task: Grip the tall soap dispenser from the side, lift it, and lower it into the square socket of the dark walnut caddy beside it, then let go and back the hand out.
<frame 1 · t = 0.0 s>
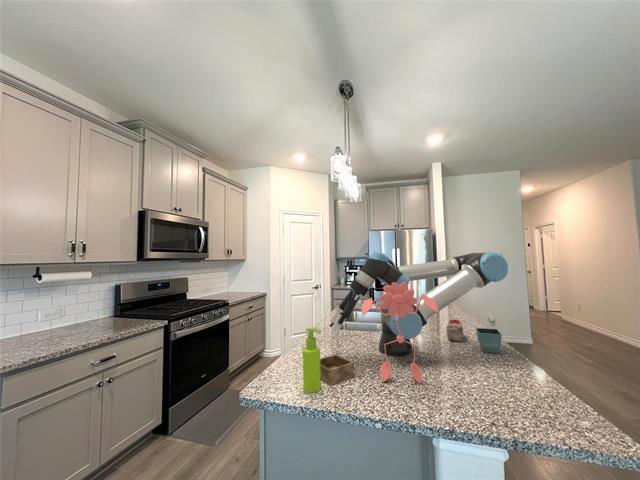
hand: (333, 325, 114), 15 cm above the table, tool tilted 35°, fingers open, 13 cm apart
soap dispenser: (313, 389, 92), on the table
walnut caddy: (333, 375, 102), on the table
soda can: (410, 334, 152), on the table
figurine: (401, 386, 93), on the table
food item: (455, 339, 142), on the table
flower pot: (489, 351, 123), on the table
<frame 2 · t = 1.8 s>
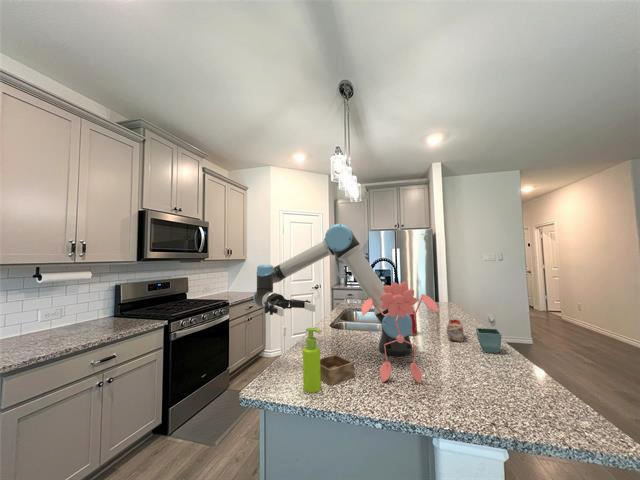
hand: (299, 310, 101), 25 cm above the table, tool horizontal, fingers open, 13 cm apart
nothing on the table moved.
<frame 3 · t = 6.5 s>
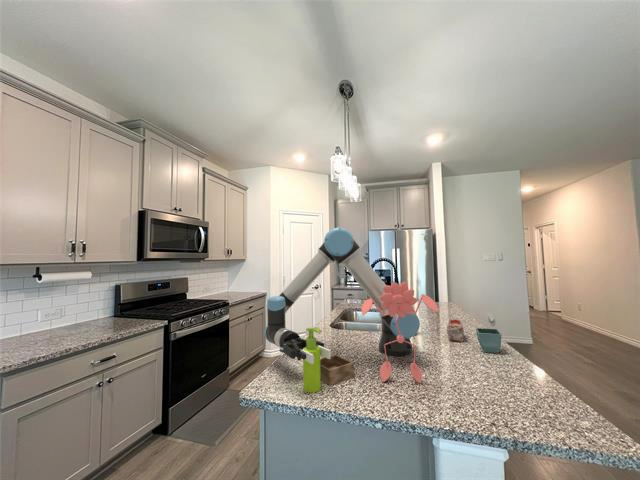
hand: (321, 357, 89), 12 cm above the table, tool horizontal, fingers closed on soap dispenser, 6 cm apart
soap dispenser: (313, 389, 92), on the table, touching gripper
everything else where it was.
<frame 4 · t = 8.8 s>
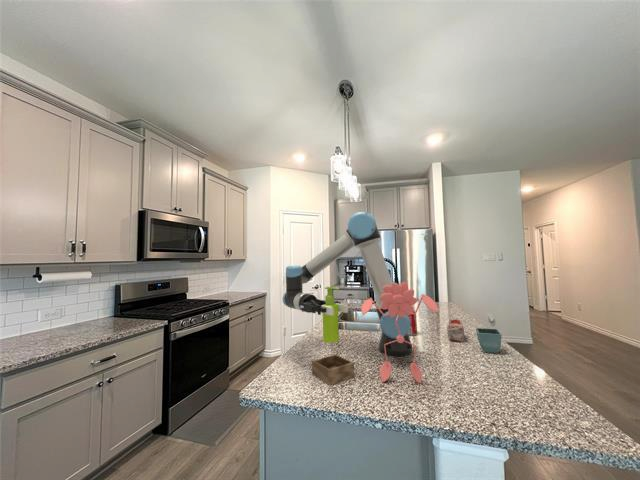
hand: (339, 310, 99), 25 cm above the table, tool horizontal, fingers closed on soap dispenser, 6 cm apart
soap dispenser: (332, 341, 103), point 13 cm above the table, touching gripper
everything else where it was.
when the fingers open (14 cm above the table, at t = 11.1 s): soap dispenser drops 1 cm, resting on walnut caddy.
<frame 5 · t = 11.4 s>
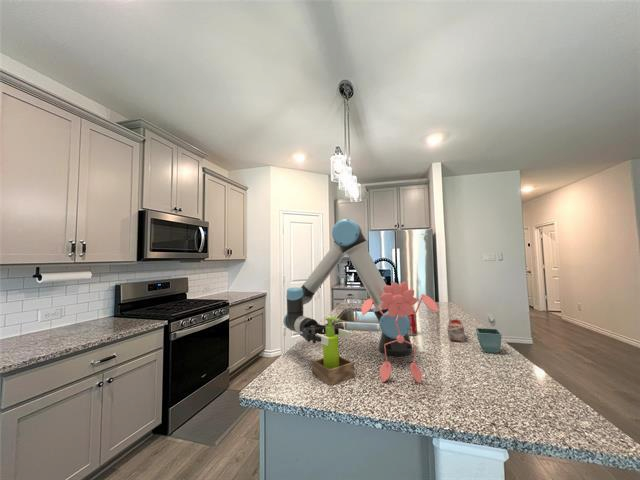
hand: (339, 338, 99), 14 cm above the table, tool horizontal, fingers open, 10 cm apart
soap dispenser: (332, 372, 102), point 1 cm above the table, touching walnut caddy
everything else where it was.
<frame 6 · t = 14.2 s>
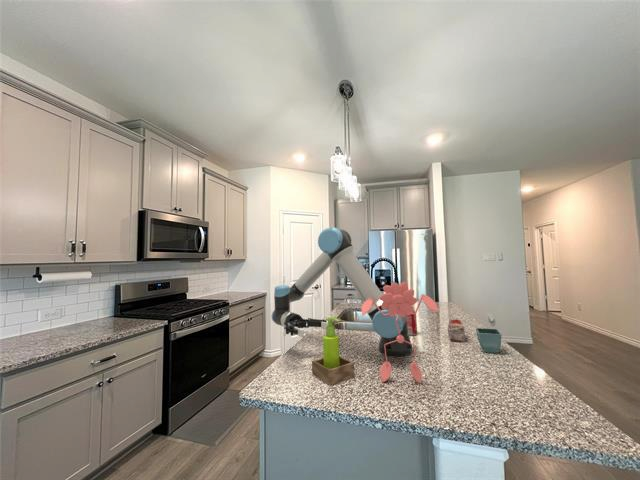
hand: (317, 330, 111), 15 cm above the table, tool horizontal, fingers open, 13 cm apart
nothing on the table moved.
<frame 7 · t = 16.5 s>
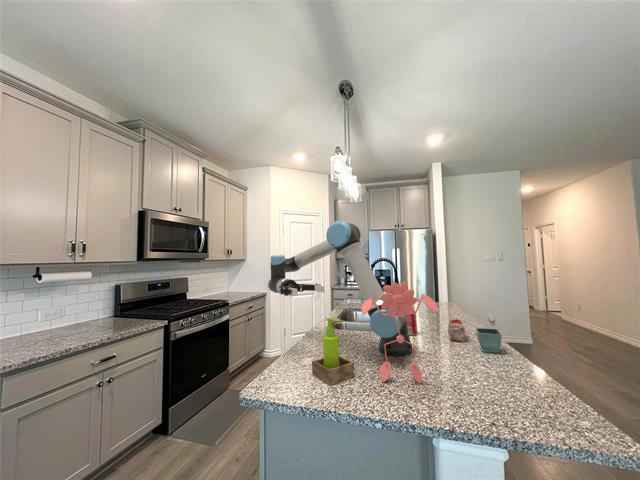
hand: (310, 290, 116), 30 cm above the table, tool horizontal, fingers open, 13 cm apart
nothing on the table moved.
at the end: soap dispenser 0.4 cm off-centre on the walnut caddy, point 0.8 cm above the walnut caddy's base; soap dispenser tilted 0°; the gripper is holding nothing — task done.
